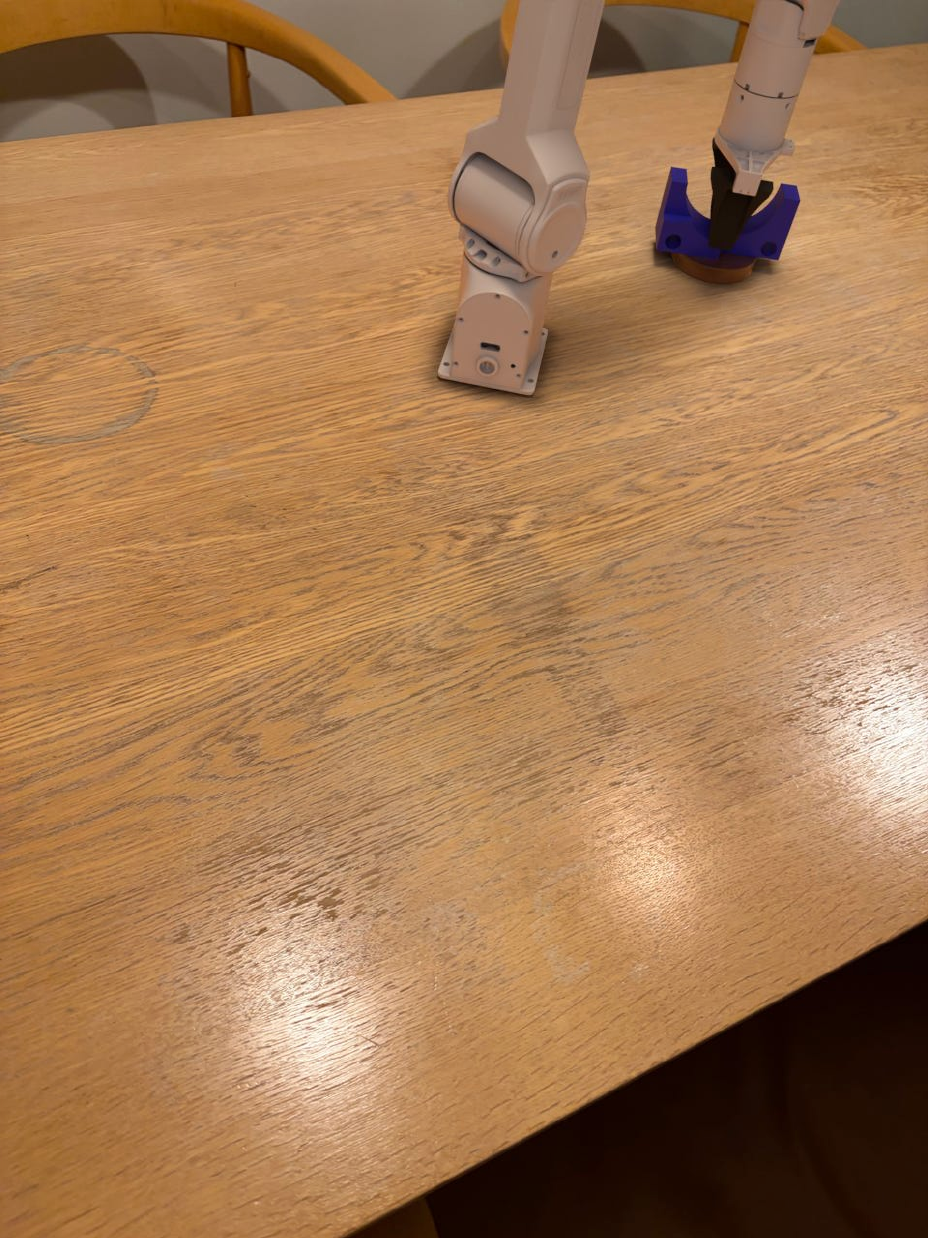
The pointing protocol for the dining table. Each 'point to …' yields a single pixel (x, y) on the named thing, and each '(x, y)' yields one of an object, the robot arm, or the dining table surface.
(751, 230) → the blue clamp bracket
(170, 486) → the dining table surface
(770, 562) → the dining table surface
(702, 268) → the walnut chip
